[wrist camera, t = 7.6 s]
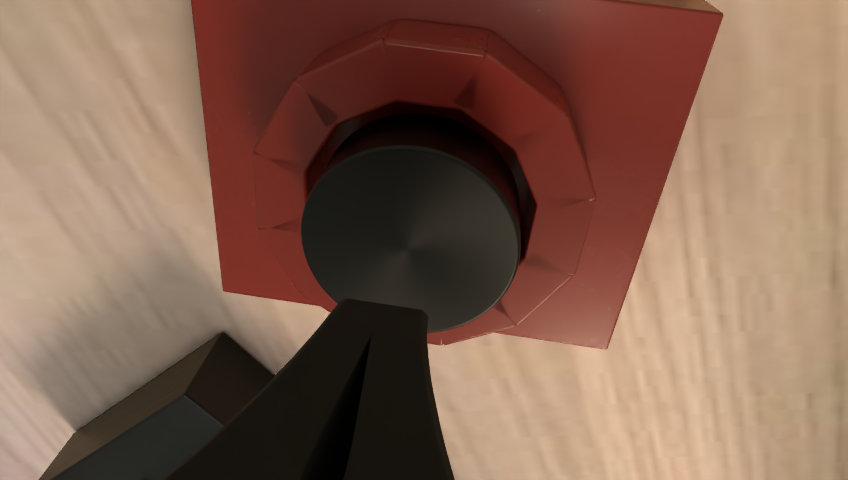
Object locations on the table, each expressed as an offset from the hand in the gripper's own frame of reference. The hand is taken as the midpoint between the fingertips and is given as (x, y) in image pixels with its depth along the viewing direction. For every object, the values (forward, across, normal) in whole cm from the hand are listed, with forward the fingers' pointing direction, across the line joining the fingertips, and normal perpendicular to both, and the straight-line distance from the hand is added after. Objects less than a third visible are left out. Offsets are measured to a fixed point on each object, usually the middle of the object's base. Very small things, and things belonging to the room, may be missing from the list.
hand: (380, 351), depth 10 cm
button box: (+8, 0, 0) cm, 8 cm away
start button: (+5, 0, 0) cm, 5 cm away
